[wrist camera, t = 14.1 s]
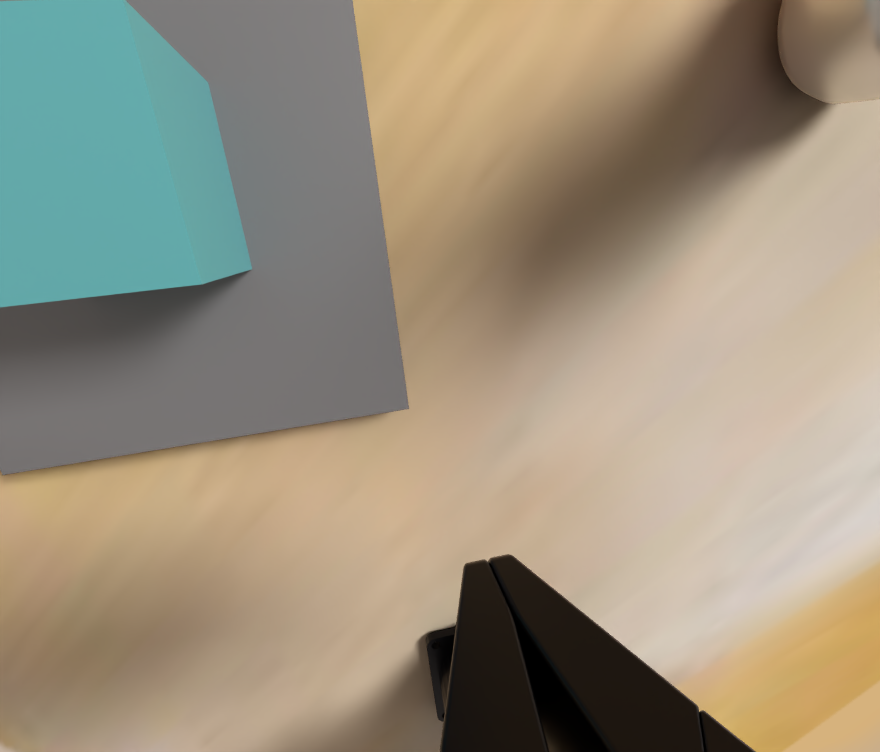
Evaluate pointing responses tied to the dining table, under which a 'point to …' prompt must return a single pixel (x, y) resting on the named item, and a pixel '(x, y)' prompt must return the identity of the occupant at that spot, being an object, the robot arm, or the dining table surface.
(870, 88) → the plastic bottle
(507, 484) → the dining table surface
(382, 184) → the dining table surface
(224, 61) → the base plate
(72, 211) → the turquoise cube
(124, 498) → the dining table surface
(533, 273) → the dining table surface
